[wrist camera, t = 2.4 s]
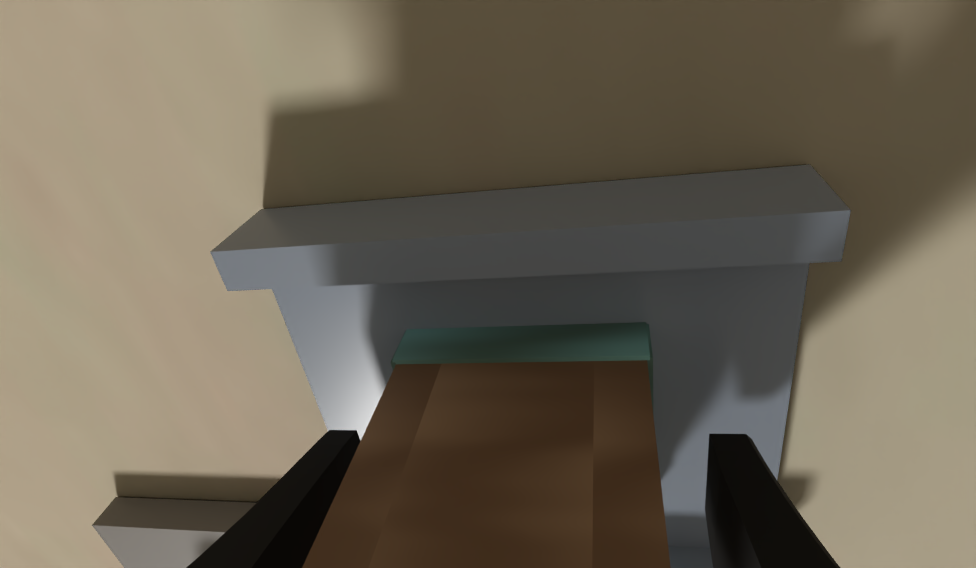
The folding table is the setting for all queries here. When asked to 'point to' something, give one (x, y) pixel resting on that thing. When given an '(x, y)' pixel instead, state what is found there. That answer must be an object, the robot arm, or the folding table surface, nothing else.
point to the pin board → (165, 529)
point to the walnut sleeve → (506, 455)
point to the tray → (567, 294)
